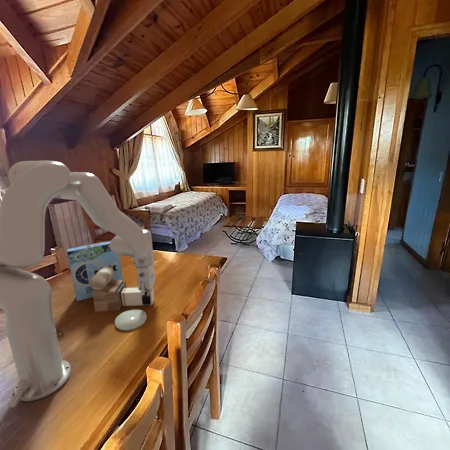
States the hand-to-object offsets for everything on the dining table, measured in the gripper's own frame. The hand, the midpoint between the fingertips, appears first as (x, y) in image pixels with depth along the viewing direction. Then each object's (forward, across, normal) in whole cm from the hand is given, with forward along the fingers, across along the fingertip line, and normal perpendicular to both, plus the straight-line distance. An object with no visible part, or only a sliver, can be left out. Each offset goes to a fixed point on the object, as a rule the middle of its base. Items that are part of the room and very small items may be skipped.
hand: (147, 300), depth 106 cm
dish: (+1, -12, +4) cm, 13 cm away
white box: (+1, 0, +4) cm, 4 cm away
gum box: (+1, +10, +23) cm, 25 cm away
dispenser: (+1, 0, +15) cm, 15 cm away
